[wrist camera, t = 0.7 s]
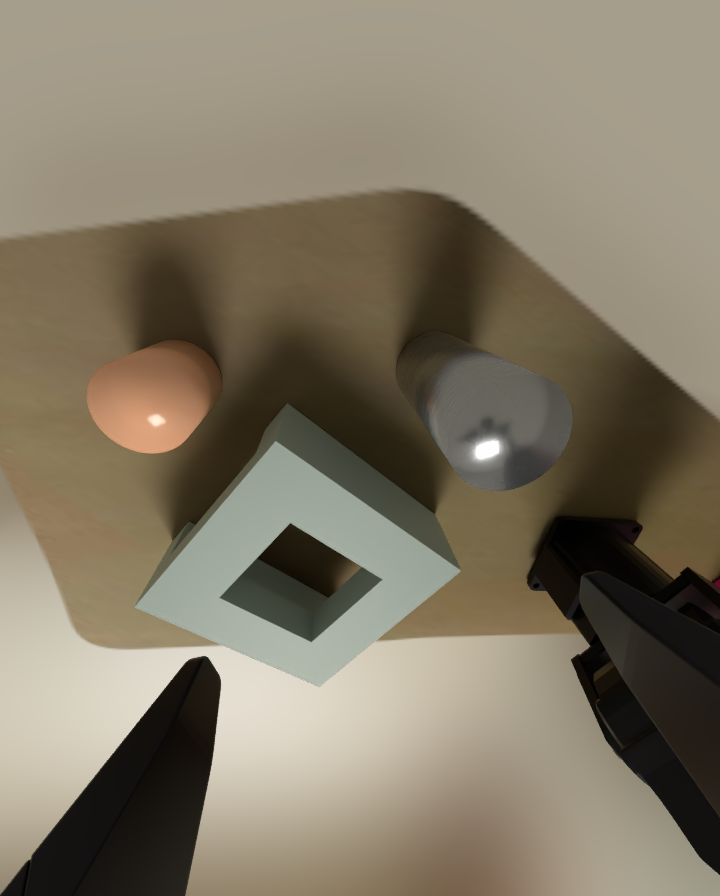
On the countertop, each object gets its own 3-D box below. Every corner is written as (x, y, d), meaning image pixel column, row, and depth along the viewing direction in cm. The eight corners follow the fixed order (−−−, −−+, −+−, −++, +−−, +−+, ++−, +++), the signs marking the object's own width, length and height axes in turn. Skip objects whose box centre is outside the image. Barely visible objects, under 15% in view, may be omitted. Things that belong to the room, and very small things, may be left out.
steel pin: (477, 336, 19) (593, 382, 11) (458, 408, 20) (545, 494, 12) (403, 326, 18) (466, 366, 10) (390, 401, 20) (435, 486, 12)
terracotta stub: (221, 344, 18) (191, 364, 14) (223, 419, 19) (197, 456, 15) (135, 334, 17) (77, 352, 13) (144, 412, 19) (96, 449, 15)
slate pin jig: (435, 514, 23) (461, 570, 19) (320, 618, 27) (319, 686, 22) (287, 402, 19) (275, 441, 15) (172, 541, 23) (134, 607, 18)
